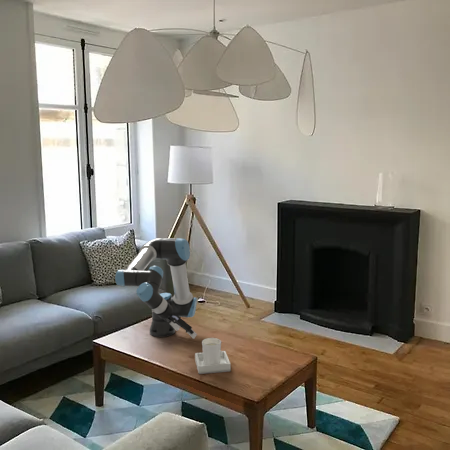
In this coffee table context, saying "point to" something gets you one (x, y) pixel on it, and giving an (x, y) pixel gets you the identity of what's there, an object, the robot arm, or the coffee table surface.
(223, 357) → the lipped tray
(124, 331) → the coffee table surface
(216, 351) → the candle holder
